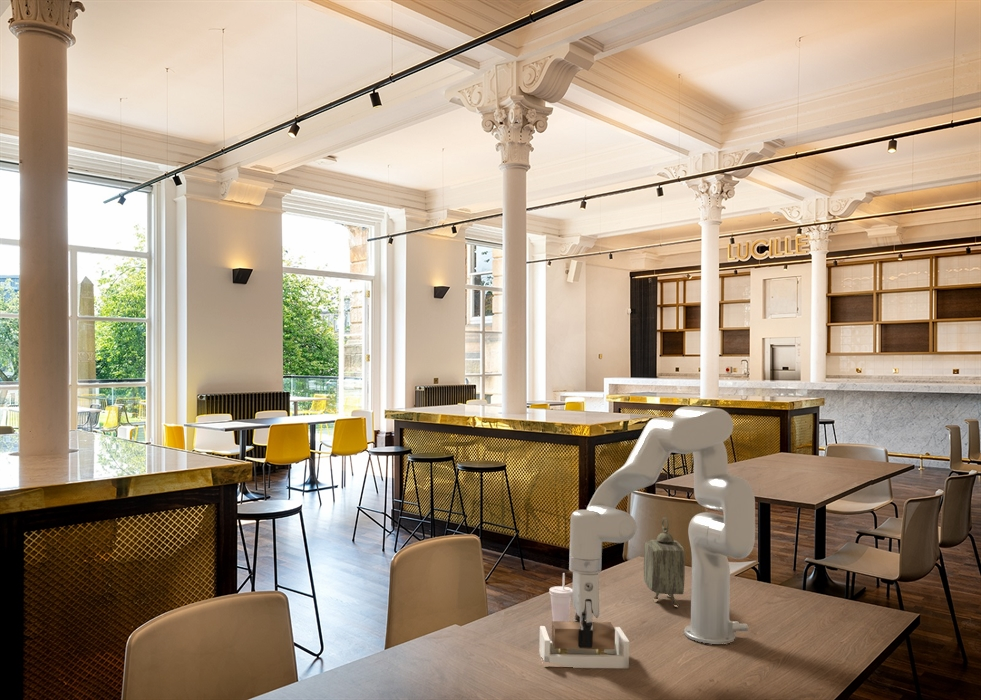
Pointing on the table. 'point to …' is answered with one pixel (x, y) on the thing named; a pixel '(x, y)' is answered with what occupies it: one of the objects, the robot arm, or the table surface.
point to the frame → (586, 661)
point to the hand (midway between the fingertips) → (583, 641)
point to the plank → (568, 635)
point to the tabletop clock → (664, 565)
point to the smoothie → (560, 601)
